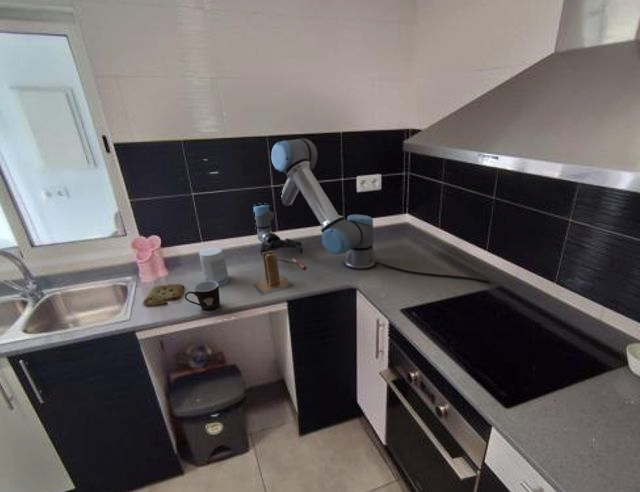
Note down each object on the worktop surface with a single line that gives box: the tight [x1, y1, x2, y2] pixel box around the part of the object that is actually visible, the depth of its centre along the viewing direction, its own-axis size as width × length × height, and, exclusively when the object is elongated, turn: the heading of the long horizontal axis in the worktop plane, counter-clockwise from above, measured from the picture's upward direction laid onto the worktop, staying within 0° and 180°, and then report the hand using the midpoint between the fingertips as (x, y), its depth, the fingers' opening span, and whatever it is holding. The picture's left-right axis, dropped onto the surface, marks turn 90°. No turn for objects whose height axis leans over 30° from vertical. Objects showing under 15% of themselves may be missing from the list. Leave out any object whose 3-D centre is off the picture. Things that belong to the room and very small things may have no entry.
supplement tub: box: [198, 247, 230, 286], centre depth 162 cm, size 10×10×15 cm
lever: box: [265, 254, 307, 271], centre depth 160 cm, size 16×11×2 cm
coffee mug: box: [184, 280, 221, 312], centre depth 142 cm, size 12×9×10 cm
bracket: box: [254, 250, 293, 292], centre depth 158 cm, size 13×10×15 cm
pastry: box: [142, 283, 185, 307], centre depth 153 cm, size 17×17×3 cm
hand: (287, 253), depth 173 cm, fingers open, 13 cm apart
